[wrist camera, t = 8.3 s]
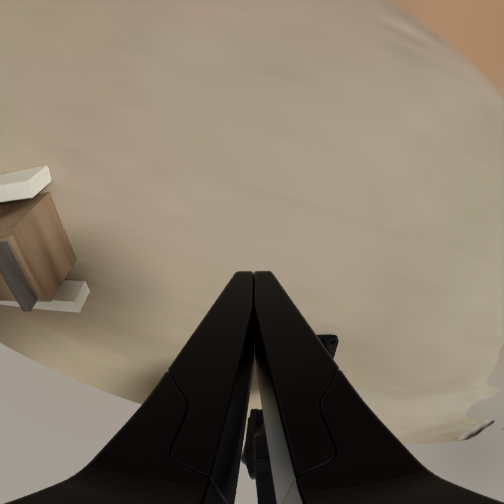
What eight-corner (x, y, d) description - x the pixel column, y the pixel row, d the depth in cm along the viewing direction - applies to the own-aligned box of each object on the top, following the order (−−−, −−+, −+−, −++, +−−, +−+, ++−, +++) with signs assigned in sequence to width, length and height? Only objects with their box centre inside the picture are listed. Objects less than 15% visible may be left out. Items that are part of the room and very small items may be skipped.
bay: (47, 165, 18) (28, 180, 16) (89, 291, 25) (79, 312, 23) (-46, 186, 18) (-63, 200, 16) (-3, 286, 25) (-14, 302, 23)
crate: (51, 190, 19) (-1, 243, 14) (77, 258, 23) (42, 318, 17) (-19, 208, 20) (-64, 253, 14) (6, 263, 23) (-29, 313, 18)
